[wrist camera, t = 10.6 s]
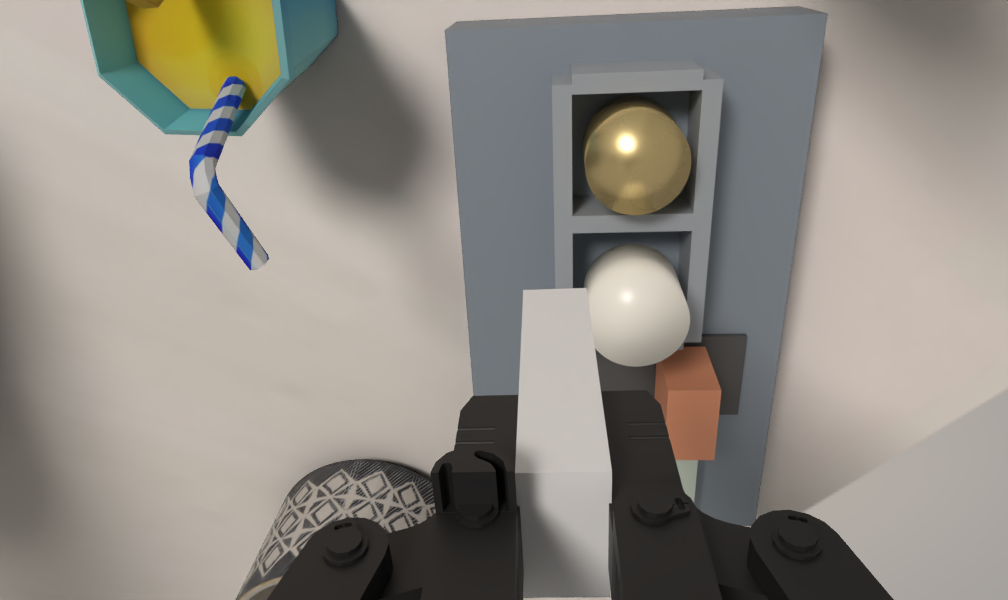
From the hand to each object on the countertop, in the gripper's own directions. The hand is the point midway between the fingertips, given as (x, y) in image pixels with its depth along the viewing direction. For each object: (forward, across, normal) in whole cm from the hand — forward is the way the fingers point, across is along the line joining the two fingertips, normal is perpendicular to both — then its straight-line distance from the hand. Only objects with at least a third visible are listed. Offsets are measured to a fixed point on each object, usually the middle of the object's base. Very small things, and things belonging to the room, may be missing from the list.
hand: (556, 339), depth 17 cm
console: (+21, +4, -9) cm, 23 cm away
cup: (+22, -12, +6) cm, 26 cm away
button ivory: (+14, +4, -6) cm, 16 cm away
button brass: (+17, +4, 0) cm, 17 cm away
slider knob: (+17, +6, -12) cm, 22 cm away
